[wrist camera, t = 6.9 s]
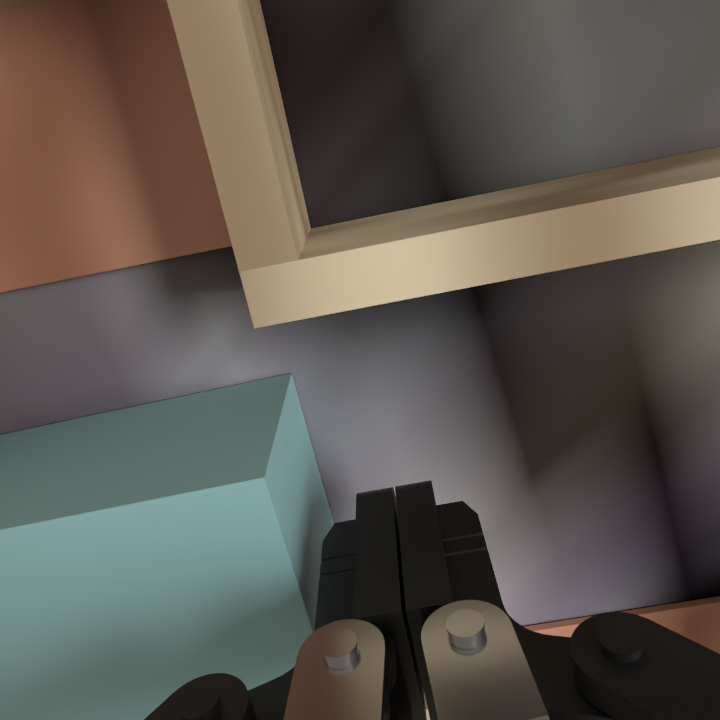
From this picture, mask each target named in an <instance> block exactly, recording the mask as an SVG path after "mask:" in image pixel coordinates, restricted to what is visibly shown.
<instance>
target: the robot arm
mask: <svg viewBox="0 0 720 720" xmlns="http://www.w3.org/2000/svg"><path fill="white" fill-rule="evenodd" d="M395 489H396V497H395V493H394V489H393V487H392V488H386V489H380V490H374V491H369V492H363V493H357V495H356V520H350V521H345V522H339V523H334V525H333V526H332V528H331V529H330V531H329V532H328V534H327V535H326V537H325V538H324V540H323V542H322V553H321V564H320V578H319V586H318V597H317V608H316V619H315V630H314V632H313V633H312V634H311V635H310V636H309V637H308V638H307V639H306V640H305V641H304V642H303V644H302V645H301V647H300V649H299V651H298V655H297V658H296V663H295V666H294V667H293V668H292V669H291V670H289V671H288V672H286V673H285V674H283V675H281V676H279V677H277V678H275V679H273V680H271V681H269V682H266V683H264V684H262V685H259V686H257V687H255V688H252V689H250V690H248V691H247V688H246V686H245V684H244V683H243V682H242V681H241V680H240V679H239V678H237V677H236V676H233V675H231V674H226V673H214V674H208V675H204V676H201V677H198V678H195V679H193V680H191V681H189V682H187V683H186V684H184V685H183V686H181V687H180V688H178V689H177V690H176V691H175V692H174V693H172V694H171V695H170V696H169V697H168V698H167V699H166V700H165V701H164V702H163V703H162V704H160V705H159V706H158V707H157V708H156V709H155V710H154V711H153V712H152V713H151V714H150V715H148V716H147V717H146V718H145V719H144V720H427V717H426V707H425V698H426V703H427V707H428V712H429V716H430V720H720V654H719V653H717V652H715V651H713V650H711V649H709V648H707V647H705V646H703V645H701V644H698V643H696V642H694V641H692V640H690V639H688V638H686V637H684V636H682V635H680V634H678V633H676V632H674V631H672V630H670V629H668V628H666V627H664V626H662V625H660V624H658V623H656V622H654V621H652V620H650V619H647V618H645V617H642V616H639V615H636V614H632V613H626V612H607V613H602V614H598V615H595V616H592V617H590V618H588V619H586V620H584V621H583V622H582V623H581V624H579V625H578V627H577V628H576V629H575V630H574V632H573V634H572V636H571V637H563V636H553V635H546V634H541V633H537V632H534V631H531V630H529V629H527V628H525V627H523V626H521V625H519V624H518V623H517V622H515V621H514V620H513V619H512V618H511V617H510V616H509V615H508V613H507V612H506V610H505V608H504V606H503V603H502V600H501V596H500V592H499V589H498V585H497V582H496V578H495V575H494V571H493V567H492V564H491V560H490V557H489V553H488V550H487V546H486V542H485V539H484V535H483V532H482V528H481V524H480V521H479V517H478V514H477V513H476V512H474V511H473V510H472V509H471V508H470V507H469V506H468V505H467V504H466V503H464V502H463V501H459V502H454V503H448V504H442V505H436V503H435V497H434V492H433V487H432V482H431V481H425V482H419V483H414V484H408V485H402V486H396V487H395ZM396 501H397V502H396ZM424 694H425V698H424Z"/></svg>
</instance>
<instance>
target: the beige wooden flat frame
mask: <svg viewBox="0 0 720 720" xmlns="http://www.w3.org/2000/svg"><path fill="white" fill-rule="evenodd" d="M715 240H720V147H715V148H710V149H705V150H700V151H695V152H690V153H685V154H680V155H675V156H670V157H665V158H660V159H655V160H650V161H645V162H640V163H635V164H630V165H625V166H620V167H616V168H611V169H606V170H601V171H596V172H591V173H586V174H581V175H576V176H571V177H566V178H561V179H556V180H551V181H546V182H541V183H536V184H531V185H526V186H521V187H516V188H511V189H506V190H501V191H496V192H491V193H486V194H481V195H476V196H471V197H466V198H461V199H456V200H451V201H446V202H441V203H436V204H431V205H426V206H421V207H416V208H411V209H406V210H401V211H396V212H391V213H386V214H381V215H376V216H371V217H366V218H361V219H356V220H351V221H346V222H341V223H336V224H331V225H326V226H321V227H317V228H312V229H311V227H310V223H309V218H308V214H307V209H306V205H305V200H304V196H303V191H302V187H301V182H300V178H299V173H298V169H297V165H296V160H295V156H294V151H293V147H292V142H291V138H290V133H289V129H288V124H287V120H286V115H285V111H284V106H283V102H282V98H281V93H280V89H279V84H278V80H277V75H276V71H275V66H274V62H273V57H272V53H271V48H270V44H269V39H268V35H267V30H266V26H265V22H264V17H263V13H262V8H261V4H260V0H0V292H5V291H10V290H15V289H20V288H25V287H30V286H35V285H40V284H45V283H50V282H55V281H60V280H65V279H70V278H75V277H80V276H85V275H90V274H95V273H100V272H105V271H110V270H115V269H120V268H125V267H130V266H135V265H140V264H145V263H150V262H155V261H160V260H165V259H170V258H175V257H180V256H185V255H190V254H195V253H200V252H205V251H210V250H215V249H220V248H225V247H230V246H232V247H233V251H234V255H235V259H236V262H237V266H238V270H239V274H240V277H241V281H242V285H243V289H244V292H245V296H246V300H247V304H248V307H249V311H250V315H251V319H252V322H253V326H254V328H260V327H265V326H270V325H275V324H281V323H286V322H291V321H296V320H301V319H307V318H312V317H317V316H322V315H328V314H333V313H338V312H343V311H348V310H354V309H359V308H364V307H369V306H375V305H380V304H385V303H390V302H396V301H401V300H406V299H411V298H416V297H422V296H427V295H432V294H437V293H443V292H448V291H453V290H458V289H464V288H469V287H474V286H479V285H484V284H490V283H495V282H500V281H505V280H511V279H516V278H521V277H526V276H532V275H537V274H542V273H547V272H552V271H558V270H563V269H568V268H573V267H579V266H584V265H589V264H594V263H600V262H605V261H610V260H615V259H620V258H626V257H631V256H636V255H641V254H647V253H652V252H657V251H662V250H668V249H673V248H678V247H683V246H688V245H694V244H699V243H704V242H709V241H715ZM621 612H626V613H632V614H636V615H639V616H642V617H645V618H647V619H650V620H652V621H654V622H656V623H658V624H660V625H662V626H664V627H666V628H668V629H670V630H672V631H674V632H676V633H678V634H680V635H682V636H684V637H686V638H688V639H690V640H692V641H694V642H696V643H698V644H701V645H703V646H705V647H707V648H709V649H711V650H713V651H715V652H717V653H719V654H720V596H718V597H711V598H705V599H699V600H692V601H686V602H679V603H673V604H666V605H660V606H653V607H647V608H641V609H634V610H628V611H621ZM590 617H592V616H589V617H582V618H576V619H570V620H563V621H557V622H550V623H544V624H537V625H531V626H524V627H525V628H527V629H529V630H531V631H534V632H537V633H541V634H546V635H553V636H563V637H571V636H572V634H573V632H574V630H575V629H576V628H577V627H578V625H579V624H581V623H582V622H583V621H584V620H586V619H588V618H590ZM424 698H425V694H424ZM425 707H426V717H427V720H430V716H429V712H428V707H427V703H426V698H425Z"/></svg>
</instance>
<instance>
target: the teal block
mask: <svg viewBox="0 0 720 720" xmlns="http://www.w3.org/2000/svg"><path fill="white" fill-rule="evenodd" d="M333 525H334V522H333V519H332V515H331V512H330V508H329V505H328V501H327V498H326V494H325V490H324V487H323V483H322V480H321V476H320V473H319V469H318V466H317V462H316V459H315V455H314V451H313V448H312V444H311V441H310V437H309V434H308V430H307V427H306V423H305V419H304V416H303V412H302V409H301V405H300V402H299V398H298V395H297V391H296V387H295V384H294V380H293V377H292V373H290V374H286V375H281V376H276V377H271V378H267V379H262V380H257V381H252V382H248V383H243V384H238V385H233V386H229V387H224V388H219V389H214V390H210V391H205V392H200V393H196V394H191V395H186V396H181V397H177V398H172V399H167V400H162V401H158V402H153V403H148V404H143V405H139V406H134V407H129V408H124V409H120V410H115V411H110V412H106V413H101V414H96V415H91V416H87V417H82V418H77V419H72V420H68V421H63V422H58V423H53V424H49V425H44V426H39V427H35V428H30V429H25V430H20V431H16V432H11V433H6V434H1V435H0V720H144V719H145V718H146V717H147V716H148V715H150V714H151V713H152V712H153V711H154V710H155V709H156V708H157V707H158V706H159V705H160V704H162V703H163V702H164V701H165V700H166V699H167V698H168V697H169V696H170V695H171V694H172V693H174V692H175V691H176V690H177V689H178V688H180V687H181V686H183V685H184V684H186V683H187V682H189V681H191V680H193V679H195V678H198V677H201V676H204V675H208V674H214V673H226V674H231V675H233V676H236V677H237V678H239V679H240V680H241V681H242V682H243V683H244V684H245V686H246V688H247V691H248V690H250V689H252V688H255V687H257V686H259V685H262V684H264V683H266V682H269V681H271V680H273V679H275V678H277V677H279V676H281V675H283V674H285V673H286V672H288V671H289V670H291V669H292V668H293V667H294V666H295V663H296V658H297V655H298V651H299V649H300V647H301V645H302V644H303V642H304V641H305V640H306V639H307V638H308V637H309V636H310V635H311V634H312V633H313V632H314V630H315V619H316V608H317V597H318V586H319V578H320V564H321V553H322V542H323V540H324V538H325V537H326V535H327V534H328V532H329V531H330V529H331V528H332V526H333Z"/></svg>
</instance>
